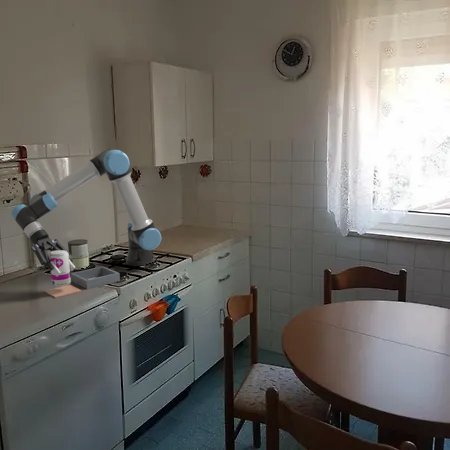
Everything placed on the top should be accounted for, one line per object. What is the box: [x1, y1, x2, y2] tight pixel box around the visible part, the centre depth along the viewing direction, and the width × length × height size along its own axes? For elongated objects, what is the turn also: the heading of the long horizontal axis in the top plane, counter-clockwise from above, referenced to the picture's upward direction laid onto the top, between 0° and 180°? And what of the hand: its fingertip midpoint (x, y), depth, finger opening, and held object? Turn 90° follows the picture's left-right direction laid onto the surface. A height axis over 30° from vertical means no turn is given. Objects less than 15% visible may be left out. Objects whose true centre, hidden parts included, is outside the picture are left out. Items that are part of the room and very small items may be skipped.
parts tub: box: [70, 265, 121, 290], centre depth 230 cm, size 17×17×4 cm
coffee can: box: [67, 238, 90, 270], centre depth 255 cm, size 10×10×14 cm
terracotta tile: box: [44, 284, 82, 299], centre depth 215 cm, size 12×12×1 cm
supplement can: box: [49, 249, 72, 288], centre depth 213 cm, size 8×8×15 cm
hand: (66, 271), depth 212 cm, fingers closed on supplement can, 8 cm apart
